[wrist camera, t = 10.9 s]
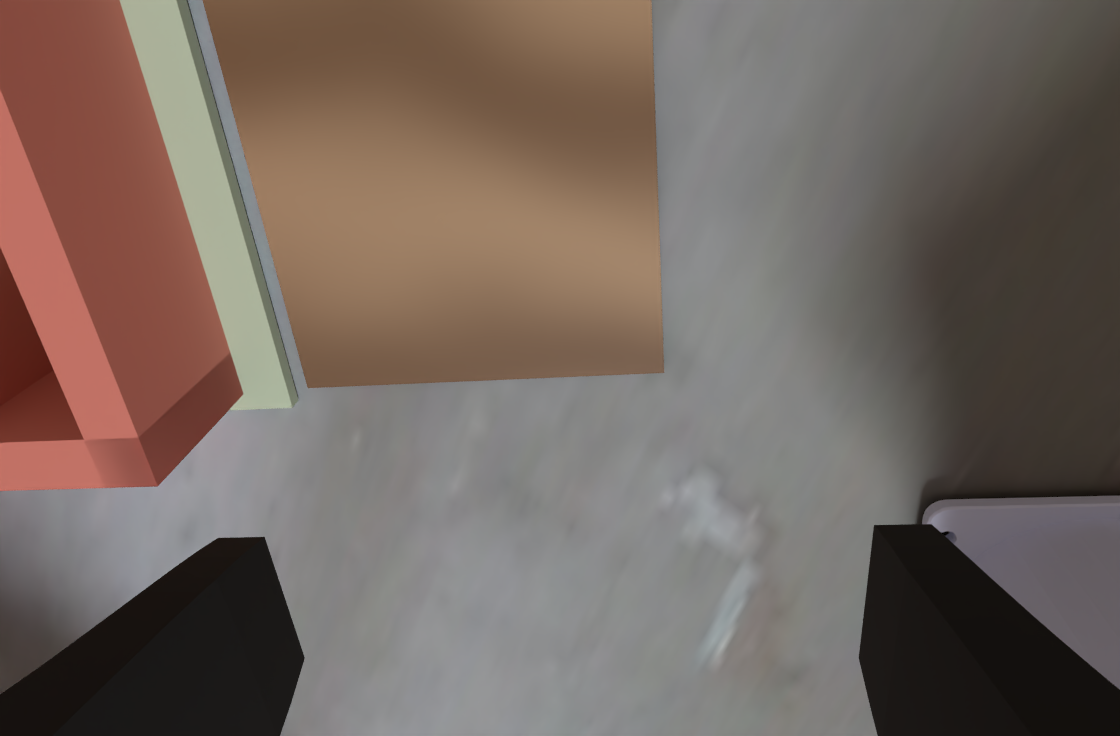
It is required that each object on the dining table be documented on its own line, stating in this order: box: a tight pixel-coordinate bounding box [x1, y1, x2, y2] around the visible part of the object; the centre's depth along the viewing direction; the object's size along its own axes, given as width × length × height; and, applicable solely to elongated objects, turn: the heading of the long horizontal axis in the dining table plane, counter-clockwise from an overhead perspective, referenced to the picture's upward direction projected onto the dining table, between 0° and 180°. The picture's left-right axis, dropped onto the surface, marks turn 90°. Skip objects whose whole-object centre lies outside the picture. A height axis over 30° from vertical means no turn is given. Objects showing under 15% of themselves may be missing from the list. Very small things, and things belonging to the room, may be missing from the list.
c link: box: [0, 0, 243, 491], centre depth 16 cm, size 10×6×4 cm, turn 5°
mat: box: [120, 0, 298, 410], centre depth 18 cm, size 11×8×1 cm
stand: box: [203, 0, 664, 388], centre depth 14 cm, size 14×9×5 cm, turn 5°
